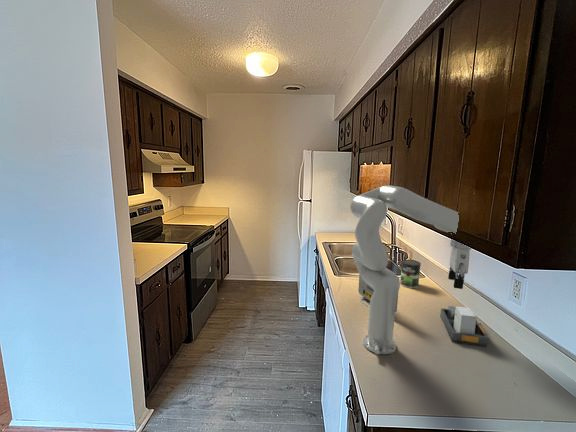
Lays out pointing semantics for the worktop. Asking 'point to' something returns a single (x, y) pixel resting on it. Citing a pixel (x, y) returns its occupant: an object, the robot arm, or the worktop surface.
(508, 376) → the worktop surface
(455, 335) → the rack
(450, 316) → the module
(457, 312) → the small box
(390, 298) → the robot arm
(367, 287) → the network device
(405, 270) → the coffee can
